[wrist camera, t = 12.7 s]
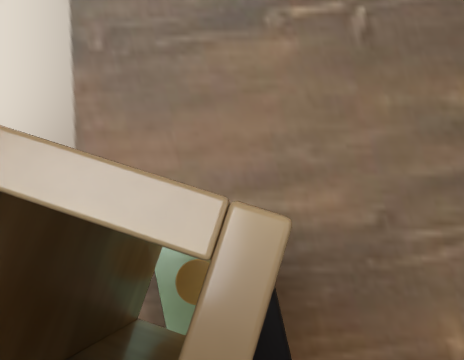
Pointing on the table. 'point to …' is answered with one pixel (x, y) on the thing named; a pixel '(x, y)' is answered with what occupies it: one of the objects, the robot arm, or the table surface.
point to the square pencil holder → (122, 258)
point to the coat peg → (179, 287)
